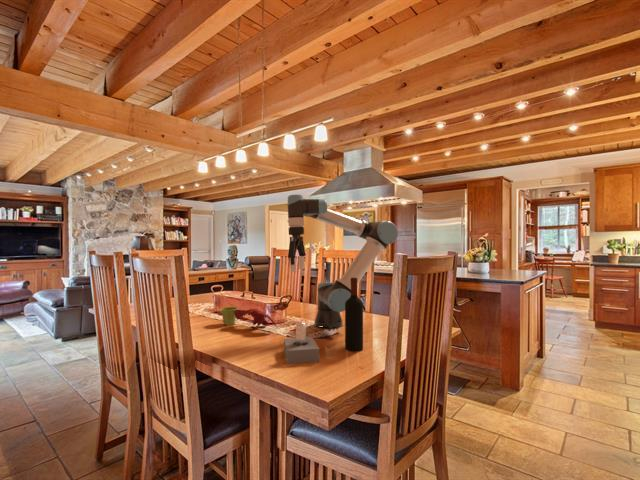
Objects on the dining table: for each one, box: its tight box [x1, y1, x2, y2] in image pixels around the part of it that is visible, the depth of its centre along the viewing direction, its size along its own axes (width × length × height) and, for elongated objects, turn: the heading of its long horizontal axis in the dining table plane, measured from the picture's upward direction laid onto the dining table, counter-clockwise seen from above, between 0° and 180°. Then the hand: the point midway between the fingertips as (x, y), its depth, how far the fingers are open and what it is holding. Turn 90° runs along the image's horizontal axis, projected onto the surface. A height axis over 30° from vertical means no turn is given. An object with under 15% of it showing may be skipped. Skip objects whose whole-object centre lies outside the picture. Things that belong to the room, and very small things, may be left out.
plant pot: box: [219, 306, 239, 326], centre depth 190 cm, size 9×9×9 cm
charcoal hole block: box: [283, 336, 320, 365], centre depth 138 cm, size 12×16×5 cm
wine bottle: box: [344, 278, 364, 353], centre depth 147 cm, size 8×8×30 cm
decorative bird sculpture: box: [234, 308, 277, 330], centre depth 181 cm, size 28×9×15 cm
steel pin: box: [295, 321, 307, 346], centre depth 138 cm, size 4×4×12 cm
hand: (297, 270), depth 169 cm, fingers open, 13 cm apart
